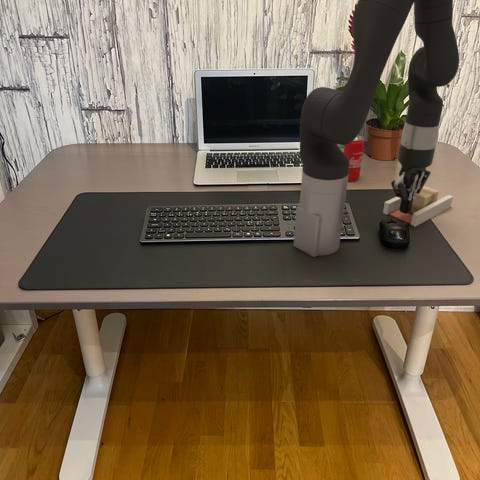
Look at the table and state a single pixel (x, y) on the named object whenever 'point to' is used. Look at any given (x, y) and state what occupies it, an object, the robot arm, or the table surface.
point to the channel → (419, 215)
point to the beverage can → (354, 157)
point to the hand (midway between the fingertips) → (404, 211)
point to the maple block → (424, 199)
